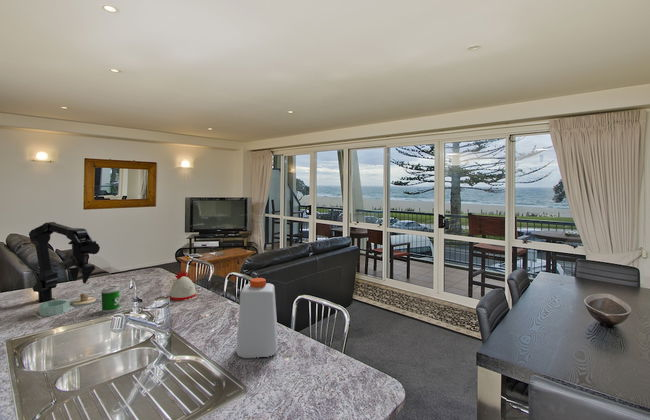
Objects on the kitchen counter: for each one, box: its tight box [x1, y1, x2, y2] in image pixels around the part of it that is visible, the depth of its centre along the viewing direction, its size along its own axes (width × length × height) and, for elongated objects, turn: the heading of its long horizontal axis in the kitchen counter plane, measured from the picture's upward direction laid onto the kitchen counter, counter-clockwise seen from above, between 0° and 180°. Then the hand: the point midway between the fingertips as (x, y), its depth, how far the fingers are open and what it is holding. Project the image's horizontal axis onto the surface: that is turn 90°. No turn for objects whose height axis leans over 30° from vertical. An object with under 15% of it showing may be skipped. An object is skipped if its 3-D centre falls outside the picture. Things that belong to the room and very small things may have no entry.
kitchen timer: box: [169, 270, 197, 301], centre depth 188 cm, size 14×14×15 cm
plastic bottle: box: [236, 277, 279, 359], centre depth 128 cm, size 15×15×28 cm
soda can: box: [100, 285, 121, 314], centre depth 165 cm, size 8×8×12 cm
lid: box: [72, 292, 97, 305], centre depth 177 cm, size 10×10×4 cm
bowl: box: [38, 298, 71, 317], centre depth 163 cm, size 11×11×4 cm
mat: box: [69, 296, 102, 309], centre depth 177 cm, size 14×12×1 cm
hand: (79, 281), depth 173 cm, fingers open, 9 cm apart
